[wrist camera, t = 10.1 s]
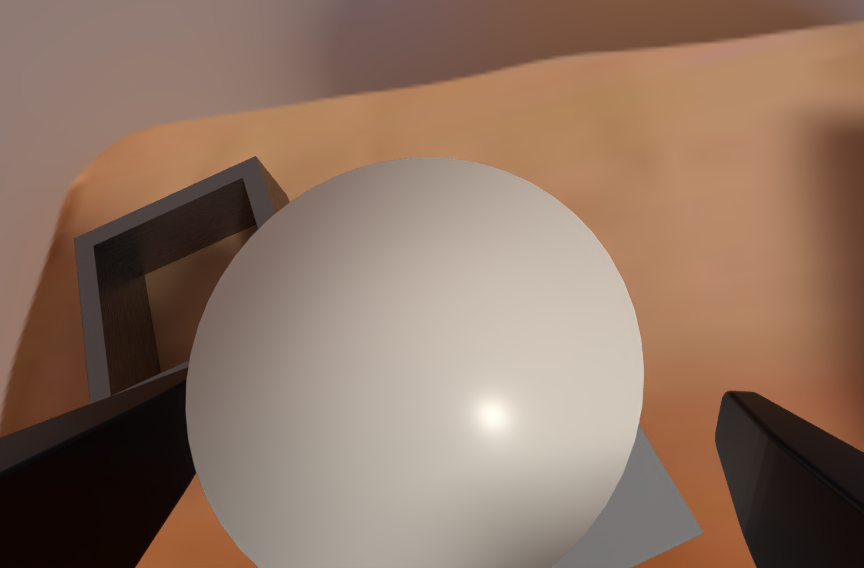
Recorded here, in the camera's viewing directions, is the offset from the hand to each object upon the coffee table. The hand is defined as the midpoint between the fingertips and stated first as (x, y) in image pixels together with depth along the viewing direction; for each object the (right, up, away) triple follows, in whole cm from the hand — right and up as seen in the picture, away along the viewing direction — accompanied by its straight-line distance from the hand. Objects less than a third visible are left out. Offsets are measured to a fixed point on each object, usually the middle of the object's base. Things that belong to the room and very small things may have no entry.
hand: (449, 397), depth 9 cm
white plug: (+2, -4, +8) cm, 9 cm away
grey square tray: (-9, +1, +13) cm, 16 cm away
